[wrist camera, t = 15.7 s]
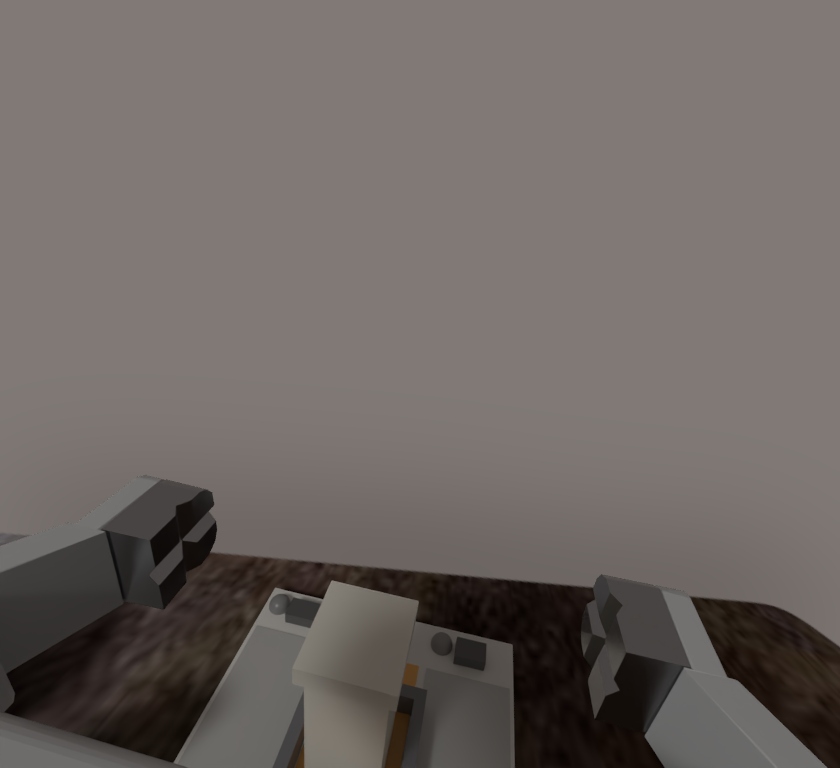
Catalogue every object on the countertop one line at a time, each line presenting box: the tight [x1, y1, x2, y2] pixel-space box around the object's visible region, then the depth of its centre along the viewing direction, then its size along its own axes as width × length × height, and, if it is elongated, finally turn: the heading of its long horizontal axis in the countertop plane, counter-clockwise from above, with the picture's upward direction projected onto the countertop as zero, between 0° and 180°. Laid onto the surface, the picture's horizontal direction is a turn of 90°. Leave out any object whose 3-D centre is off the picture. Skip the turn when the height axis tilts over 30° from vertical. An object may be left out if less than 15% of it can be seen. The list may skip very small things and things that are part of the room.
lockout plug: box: [292, 581, 419, 768], centre depth 25 cm, size 5×5×12 cm
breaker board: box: [174, 588, 515, 768], centre depth 29 cm, size 21×18×3 cm
